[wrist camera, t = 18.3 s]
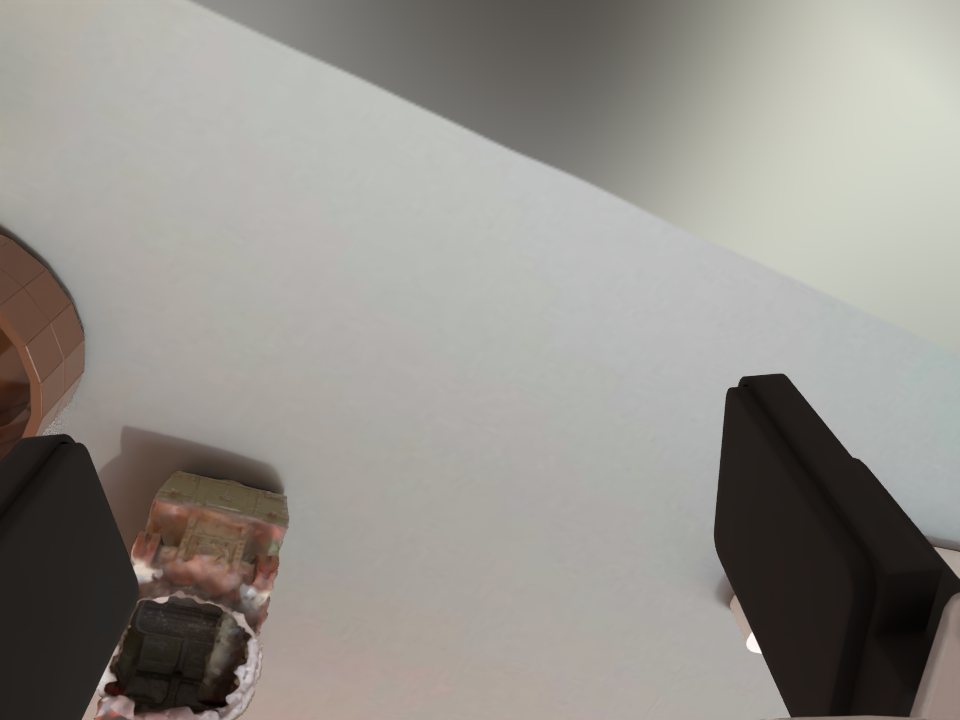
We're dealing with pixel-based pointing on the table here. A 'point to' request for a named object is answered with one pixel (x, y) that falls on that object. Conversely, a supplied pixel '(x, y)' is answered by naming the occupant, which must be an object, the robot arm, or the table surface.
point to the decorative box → (197, 603)
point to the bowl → (34, 347)
